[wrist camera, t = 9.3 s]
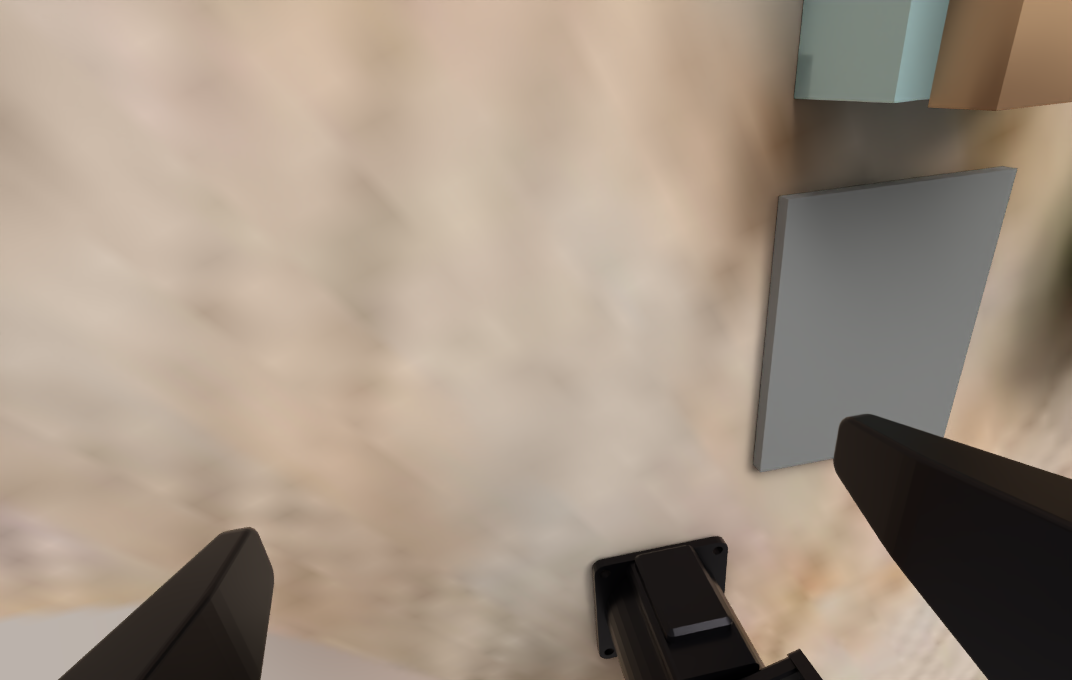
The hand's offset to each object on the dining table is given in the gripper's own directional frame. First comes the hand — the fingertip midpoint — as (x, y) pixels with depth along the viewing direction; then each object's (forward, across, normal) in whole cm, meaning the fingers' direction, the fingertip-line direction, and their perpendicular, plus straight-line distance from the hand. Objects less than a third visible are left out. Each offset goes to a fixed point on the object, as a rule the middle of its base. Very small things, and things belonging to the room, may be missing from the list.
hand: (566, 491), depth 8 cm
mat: (+12, -15, +5) cm, 20 cm away
